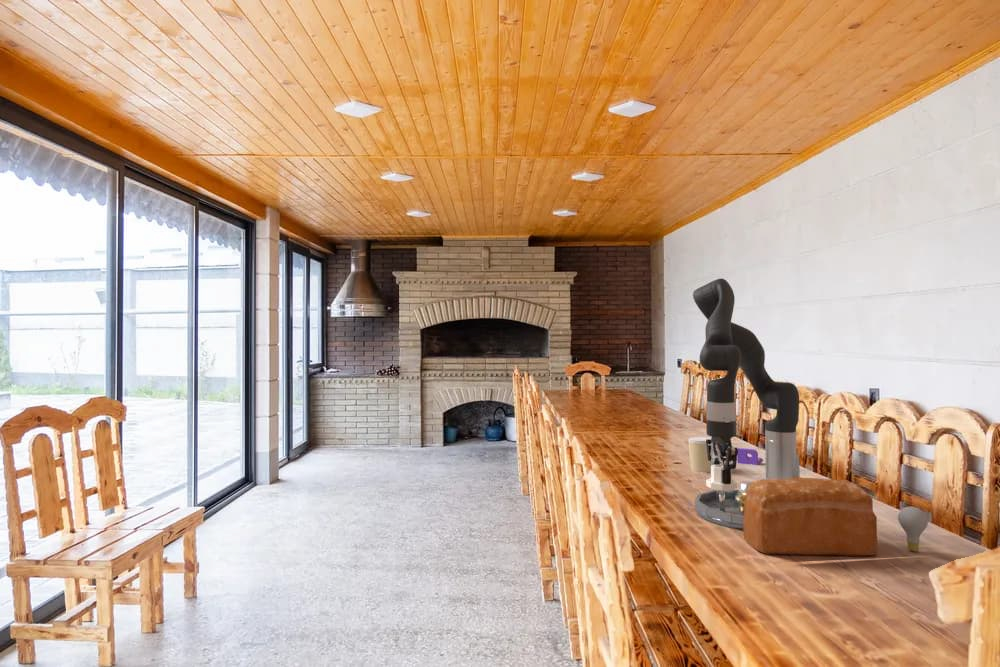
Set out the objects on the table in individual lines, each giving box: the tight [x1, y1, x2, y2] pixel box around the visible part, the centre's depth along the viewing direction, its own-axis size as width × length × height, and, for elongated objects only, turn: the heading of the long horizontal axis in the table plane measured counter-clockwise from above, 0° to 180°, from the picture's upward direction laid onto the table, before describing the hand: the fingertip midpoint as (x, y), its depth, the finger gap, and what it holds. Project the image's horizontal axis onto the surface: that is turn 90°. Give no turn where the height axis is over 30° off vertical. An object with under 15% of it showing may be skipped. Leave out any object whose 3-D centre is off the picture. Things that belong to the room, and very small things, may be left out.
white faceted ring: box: [705, 464, 738, 490], centre depth 155 cm, size 7×7×6 cm
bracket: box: [737, 447, 763, 466], centre depth 220 cm, size 12×7×7 cm, turn 147°
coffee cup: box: [687, 436, 712, 474], centre depth 208 cm, size 9×9×12 cm
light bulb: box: [897, 506, 929, 553], centre depth 129 cm, size 5×5×10 cm
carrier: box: [694, 480, 754, 531], centre depth 156 cm, size 27×27×7 cm
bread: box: [742, 476, 878, 557], centre depth 133 cm, size 14×26×16 cm, turn 86°
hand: (721, 480), depth 155 cm, fingers closed on white faceted ring, 5 cm apart
